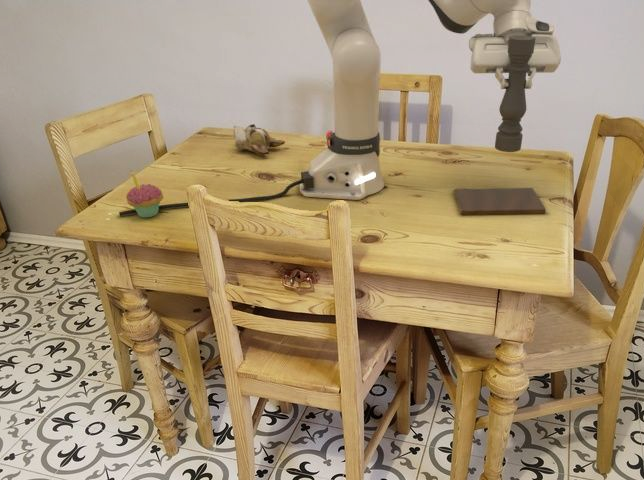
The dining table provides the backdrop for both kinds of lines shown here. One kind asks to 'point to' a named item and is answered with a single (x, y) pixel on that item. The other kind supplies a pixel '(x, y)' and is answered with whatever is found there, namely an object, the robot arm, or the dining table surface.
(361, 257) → the dining table surface
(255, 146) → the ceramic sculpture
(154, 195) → the cupcake
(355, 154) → the robot arm
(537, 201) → the board
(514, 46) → the candle holder
